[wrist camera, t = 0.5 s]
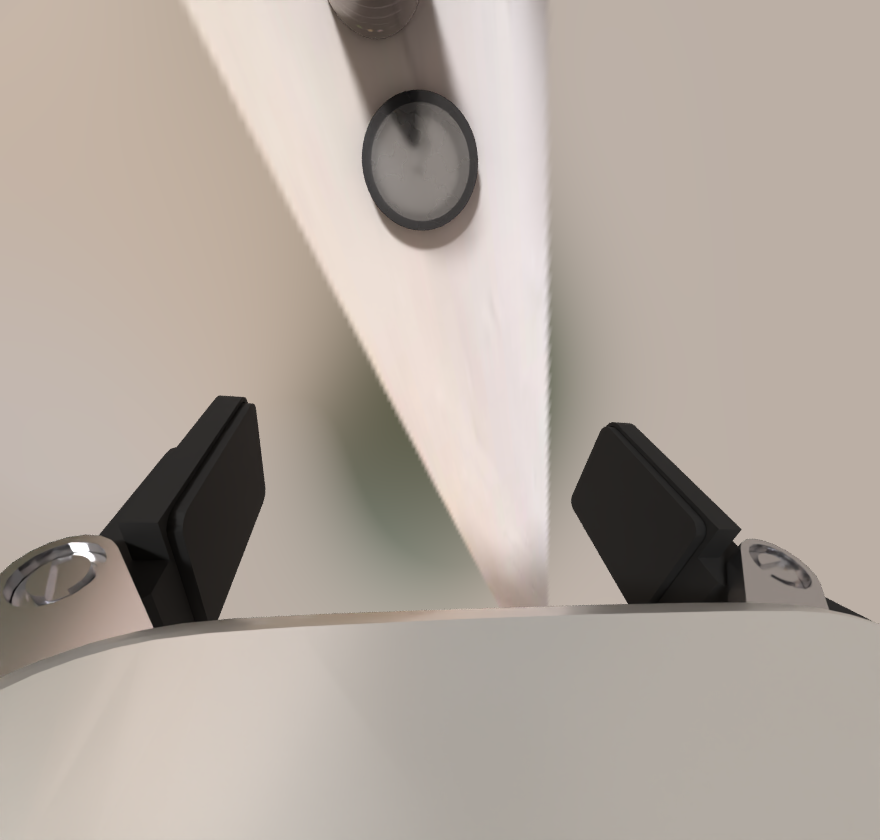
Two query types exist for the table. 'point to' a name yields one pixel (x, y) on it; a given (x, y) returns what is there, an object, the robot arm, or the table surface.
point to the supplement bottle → (375, 15)
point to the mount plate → (419, 160)
